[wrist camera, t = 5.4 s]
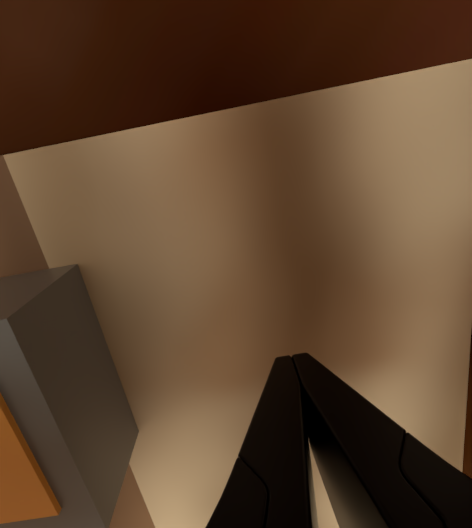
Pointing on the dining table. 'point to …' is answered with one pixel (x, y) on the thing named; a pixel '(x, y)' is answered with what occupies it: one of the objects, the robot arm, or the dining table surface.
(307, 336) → the subfloor board
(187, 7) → the dining table surface
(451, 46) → the dining table surface
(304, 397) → the robot arm
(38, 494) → the block
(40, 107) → the dining table surface
